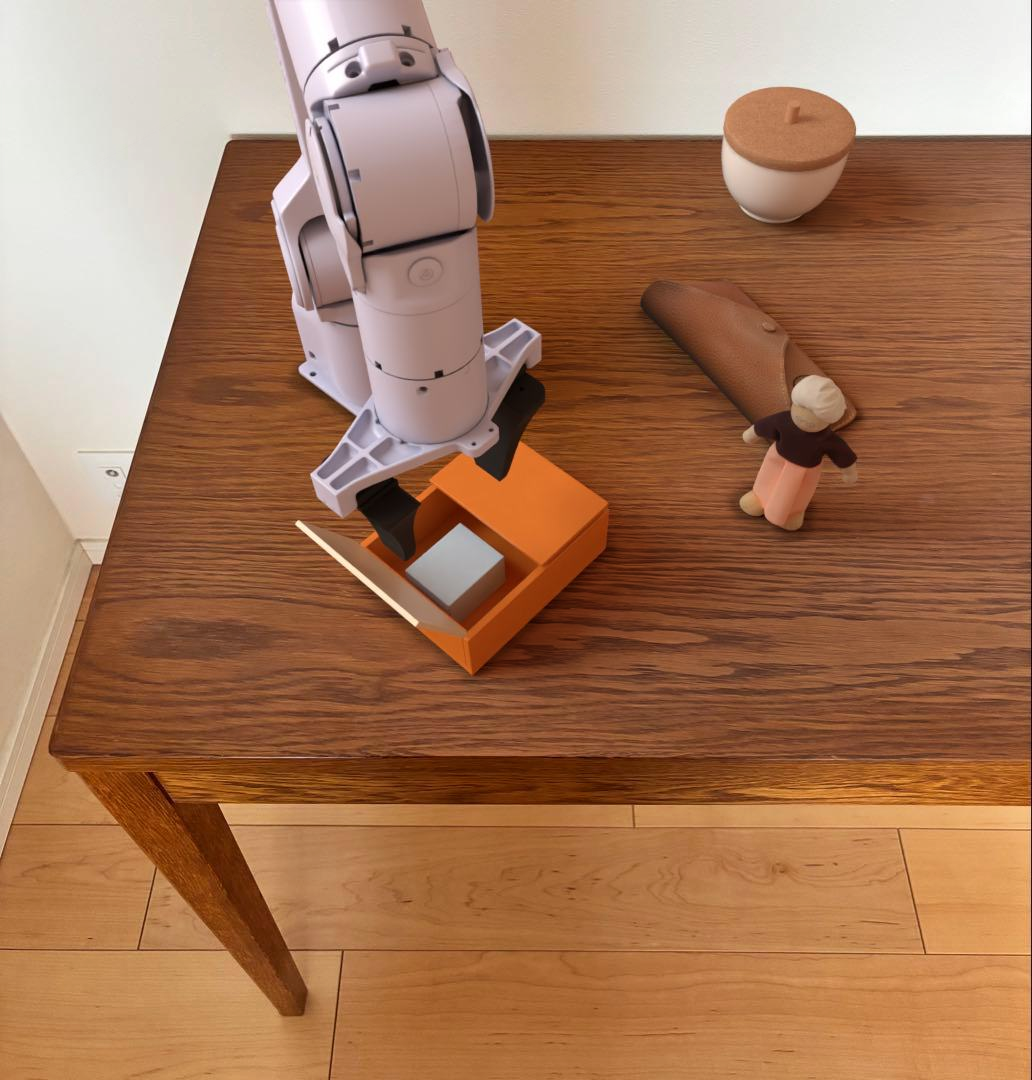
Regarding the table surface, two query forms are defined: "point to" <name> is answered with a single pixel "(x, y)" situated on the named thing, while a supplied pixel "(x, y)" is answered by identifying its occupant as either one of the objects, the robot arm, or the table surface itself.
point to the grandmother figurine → (798, 453)
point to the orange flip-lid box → (507, 542)
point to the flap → (382, 581)
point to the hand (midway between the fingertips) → (446, 508)
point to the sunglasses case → (734, 345)
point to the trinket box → (784, 151)
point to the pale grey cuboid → (458, 572)
